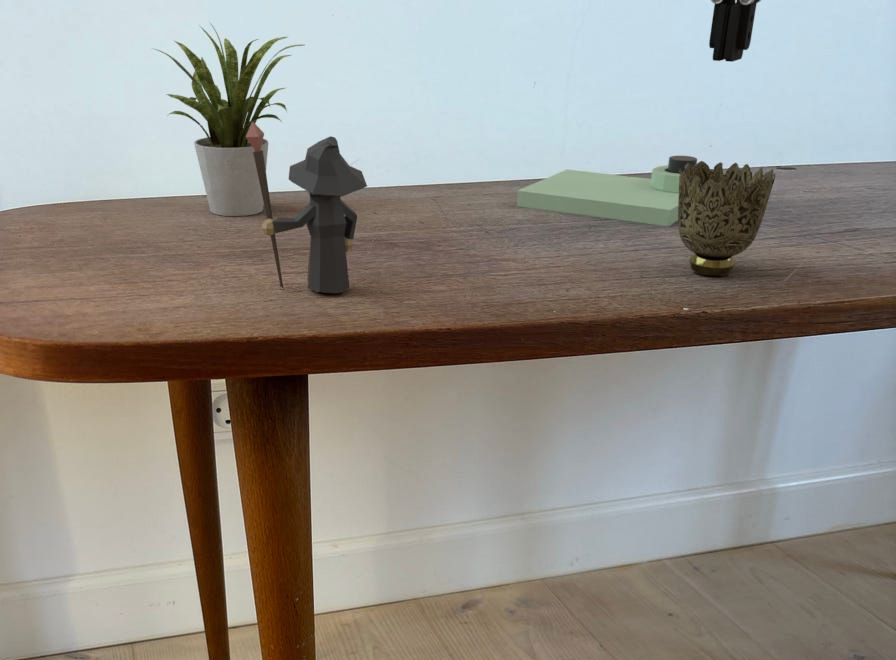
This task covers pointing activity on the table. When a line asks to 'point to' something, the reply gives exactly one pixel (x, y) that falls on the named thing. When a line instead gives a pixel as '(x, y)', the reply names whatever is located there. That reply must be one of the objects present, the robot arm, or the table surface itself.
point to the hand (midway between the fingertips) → (727, 59)
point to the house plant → (229, 127)
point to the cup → (720, 213)
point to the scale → (607, 195)
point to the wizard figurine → (317, 210)
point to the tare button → (680, 163)
